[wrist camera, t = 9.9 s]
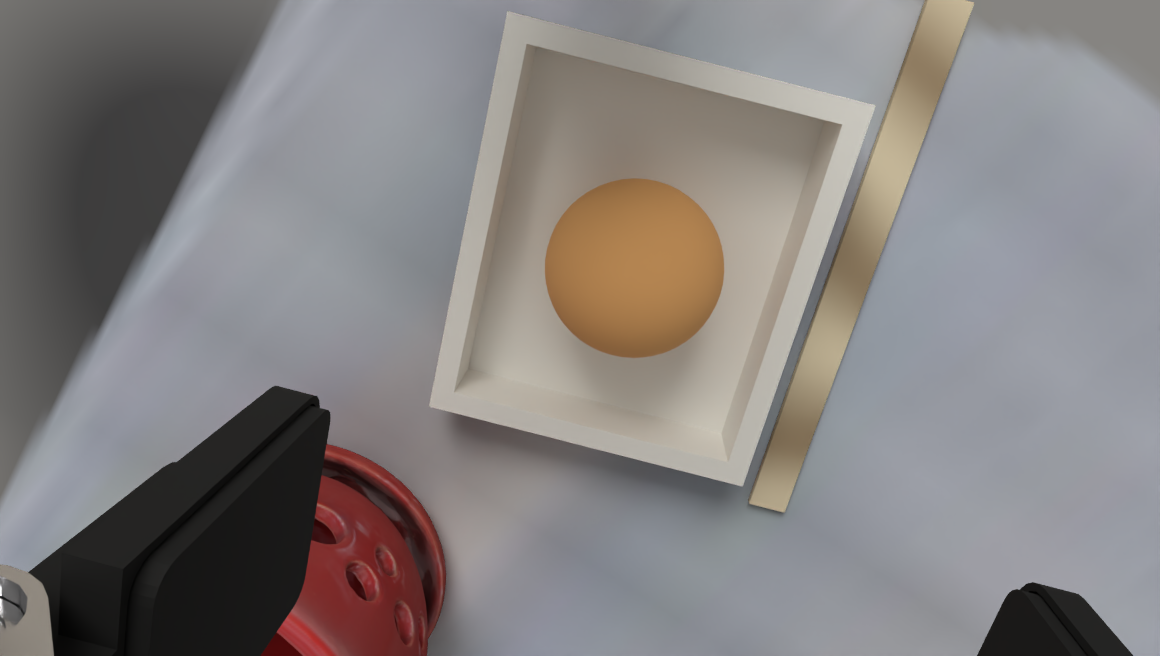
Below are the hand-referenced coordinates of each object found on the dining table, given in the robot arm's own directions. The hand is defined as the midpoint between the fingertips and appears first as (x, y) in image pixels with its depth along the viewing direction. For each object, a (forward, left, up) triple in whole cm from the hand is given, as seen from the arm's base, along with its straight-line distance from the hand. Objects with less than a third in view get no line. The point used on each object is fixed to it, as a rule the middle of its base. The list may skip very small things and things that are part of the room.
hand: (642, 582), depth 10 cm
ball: (0, 0, -20) cm, 20 cm away
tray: (0, 0, -20) cm, 20 cm away
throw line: (+1, -8, -20) cm, 22 cm away
